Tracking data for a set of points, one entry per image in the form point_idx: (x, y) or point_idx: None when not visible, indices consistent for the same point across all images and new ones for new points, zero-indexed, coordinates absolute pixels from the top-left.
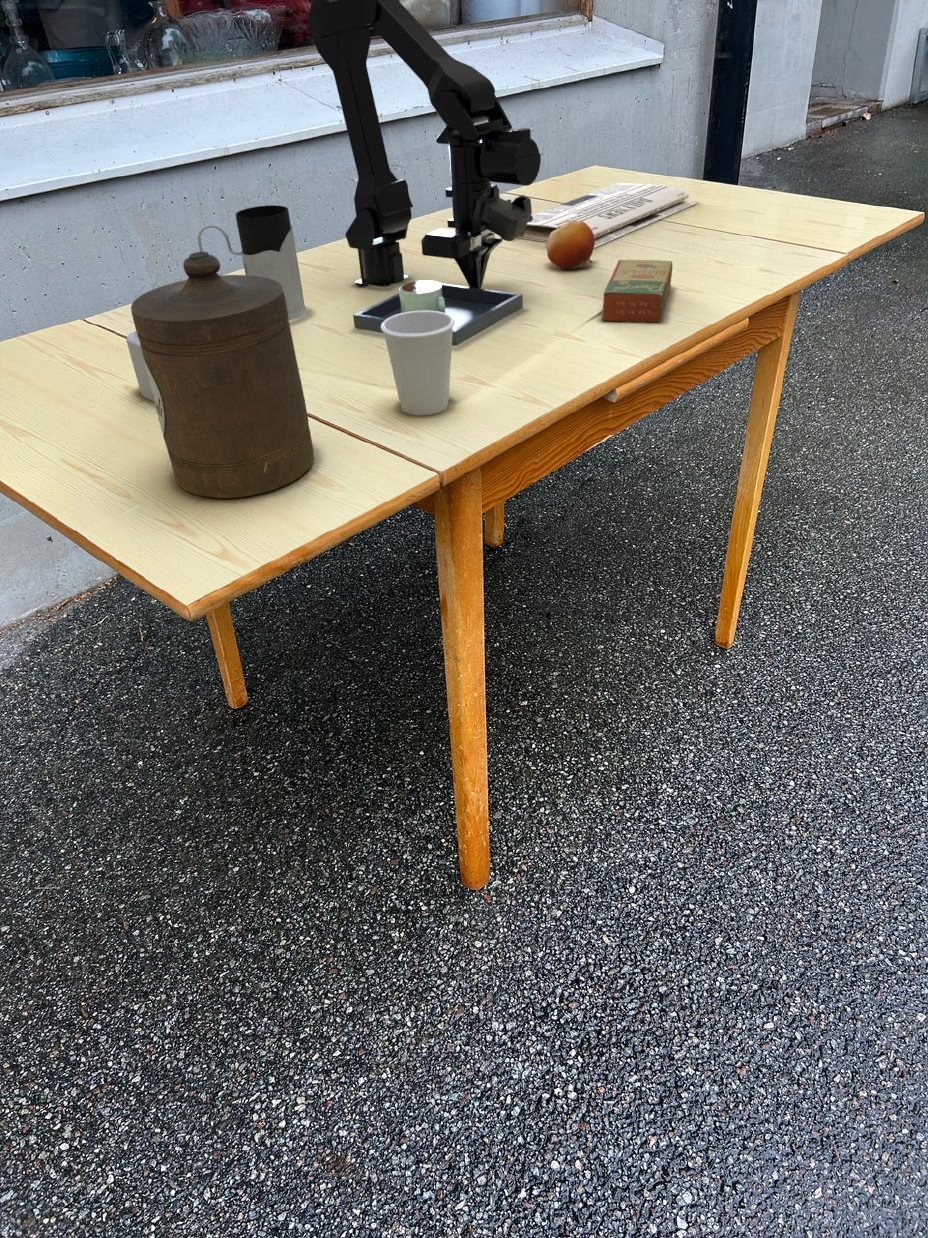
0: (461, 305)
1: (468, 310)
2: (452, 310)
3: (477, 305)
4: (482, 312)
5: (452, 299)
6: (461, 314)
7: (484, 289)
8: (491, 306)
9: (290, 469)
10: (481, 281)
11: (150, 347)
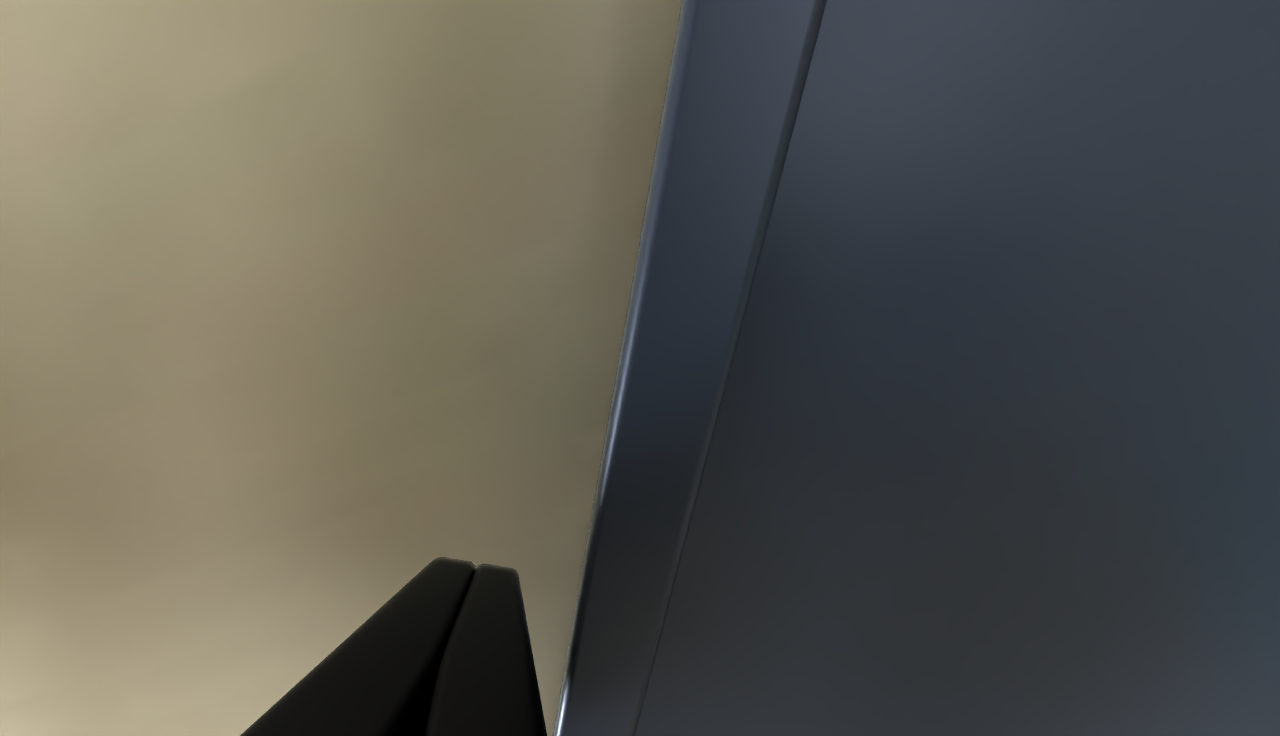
0: (857, 588)
1: (1072, 454)
2: (1060, 618)
3: (828, 417)
4: (1187, 231)
5: (656, 719)
6: (1245, 482)
7: (625, 492)
8: (855, 201)
9: None
10: (406, 647)
11: None
